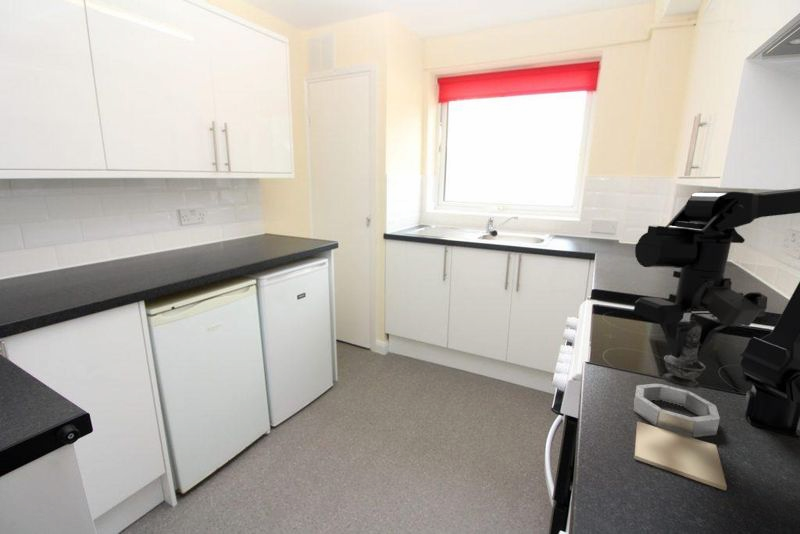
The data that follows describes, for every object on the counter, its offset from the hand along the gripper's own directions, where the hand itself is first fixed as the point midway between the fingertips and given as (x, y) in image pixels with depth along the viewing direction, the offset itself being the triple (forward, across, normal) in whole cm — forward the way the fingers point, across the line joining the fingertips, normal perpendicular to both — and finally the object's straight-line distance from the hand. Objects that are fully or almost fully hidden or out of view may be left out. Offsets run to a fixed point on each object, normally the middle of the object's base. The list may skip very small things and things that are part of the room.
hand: (684, 356), depth 65 cm
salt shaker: (+5, 0, 0) cm, 5 cm away
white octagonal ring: (+13, +3, +2) cm, 14 cm away
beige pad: (+13, -6, -7) cm, 16 cm away
